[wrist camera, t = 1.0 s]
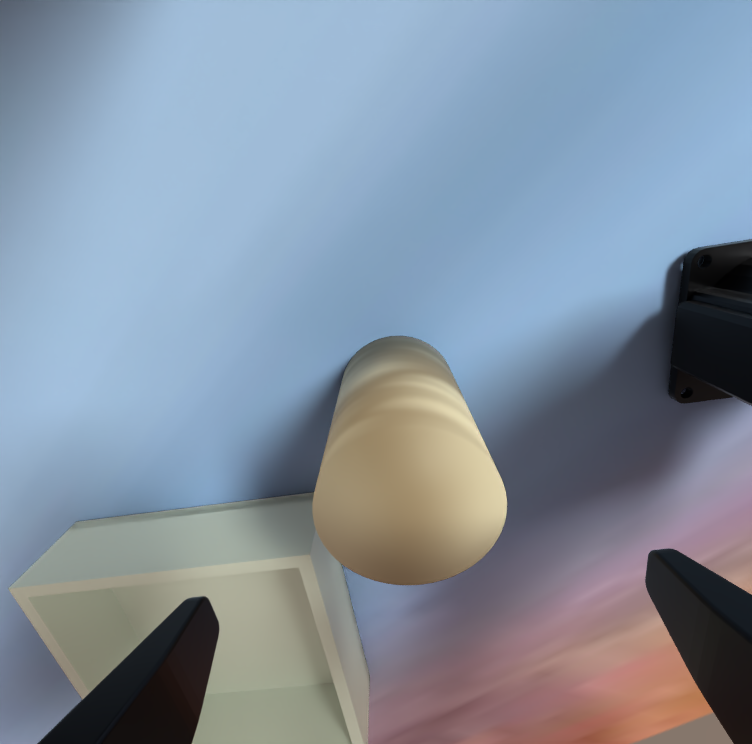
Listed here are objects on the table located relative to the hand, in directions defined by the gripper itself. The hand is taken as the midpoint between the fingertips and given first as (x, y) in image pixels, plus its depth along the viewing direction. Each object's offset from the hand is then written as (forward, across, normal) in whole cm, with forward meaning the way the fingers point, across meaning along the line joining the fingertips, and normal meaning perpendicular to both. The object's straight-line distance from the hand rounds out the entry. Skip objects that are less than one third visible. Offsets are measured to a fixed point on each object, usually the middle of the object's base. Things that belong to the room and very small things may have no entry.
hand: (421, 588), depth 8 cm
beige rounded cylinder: (+10, 0, 0) cm, 10 cm away
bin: (+10, +11, +12) cm, 19 cm away
